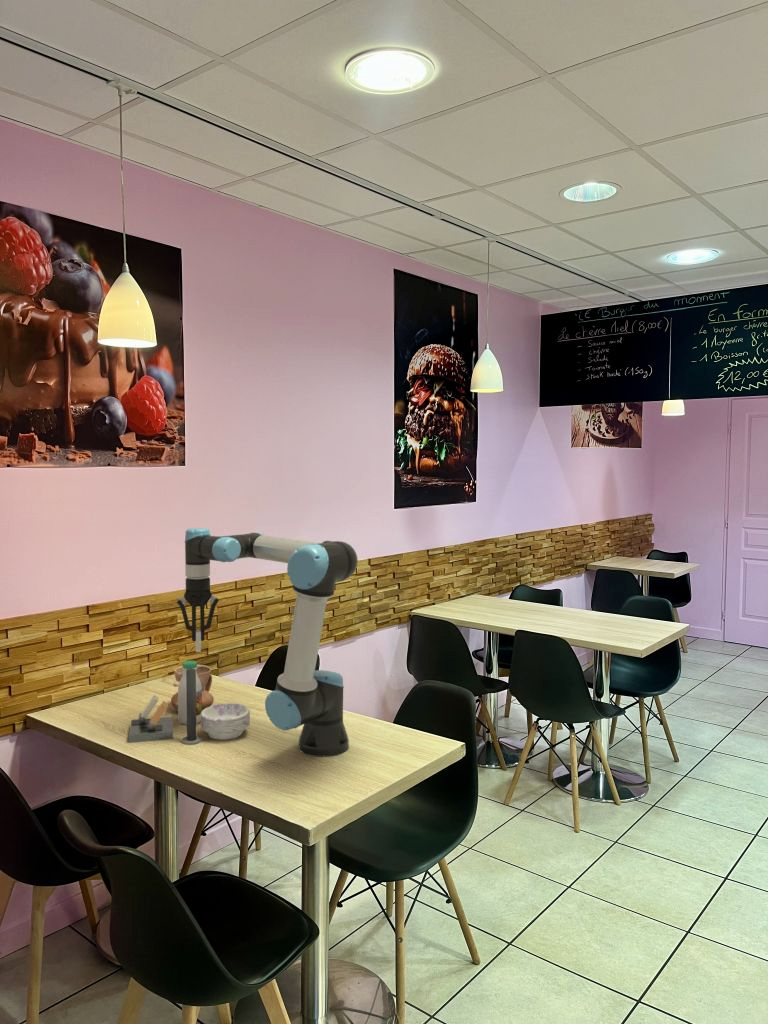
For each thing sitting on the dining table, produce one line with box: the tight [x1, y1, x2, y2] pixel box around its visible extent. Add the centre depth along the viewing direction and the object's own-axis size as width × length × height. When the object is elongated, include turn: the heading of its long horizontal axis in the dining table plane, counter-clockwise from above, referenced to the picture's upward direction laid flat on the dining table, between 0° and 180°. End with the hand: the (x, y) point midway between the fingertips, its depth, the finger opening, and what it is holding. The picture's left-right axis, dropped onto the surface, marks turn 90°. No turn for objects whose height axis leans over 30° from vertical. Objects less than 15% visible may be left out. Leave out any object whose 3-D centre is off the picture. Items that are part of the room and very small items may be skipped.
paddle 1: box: [138, 694, 159, 723], centre depth 244 cm, size 5×2×8 cm
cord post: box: [181, 669, 203, 746], centre depth 233 cm, size 6×6×22 cm
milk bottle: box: [177, 660, 203, 726], centre depth 251 cm, size 8×8×20 cm
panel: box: [128, 716, 174, 743], centre depth 241 cm, size 14×13×3 cm
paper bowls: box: [200, 702, 251, 741], centre depth 239 cm, size 15×15×8 cm
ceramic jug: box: [170, 664, 215, 711], centre depth 265 cm, size 18×14×14 cm
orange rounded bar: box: [148, 700, 169, 730], centre depth 238 cm, size 5×2×8 cm
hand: (198, 650), depth 240 cm, fingers closed
